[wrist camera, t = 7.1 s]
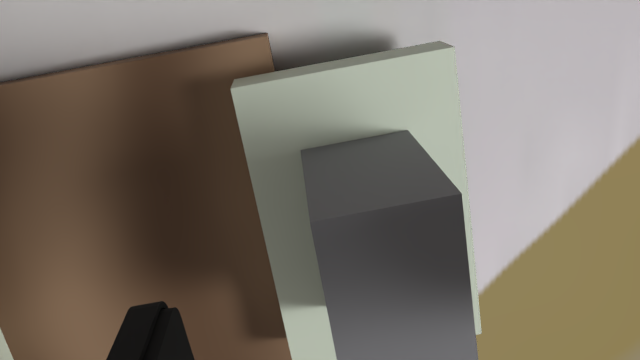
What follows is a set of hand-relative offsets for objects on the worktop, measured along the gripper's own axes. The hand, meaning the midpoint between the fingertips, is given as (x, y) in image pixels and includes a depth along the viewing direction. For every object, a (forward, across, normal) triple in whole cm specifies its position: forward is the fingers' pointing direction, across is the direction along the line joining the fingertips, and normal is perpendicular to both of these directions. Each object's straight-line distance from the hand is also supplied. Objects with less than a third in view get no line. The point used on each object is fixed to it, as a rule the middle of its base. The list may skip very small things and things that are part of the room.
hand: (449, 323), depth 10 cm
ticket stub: (+8, +1, +1) cm, 8 cm away
